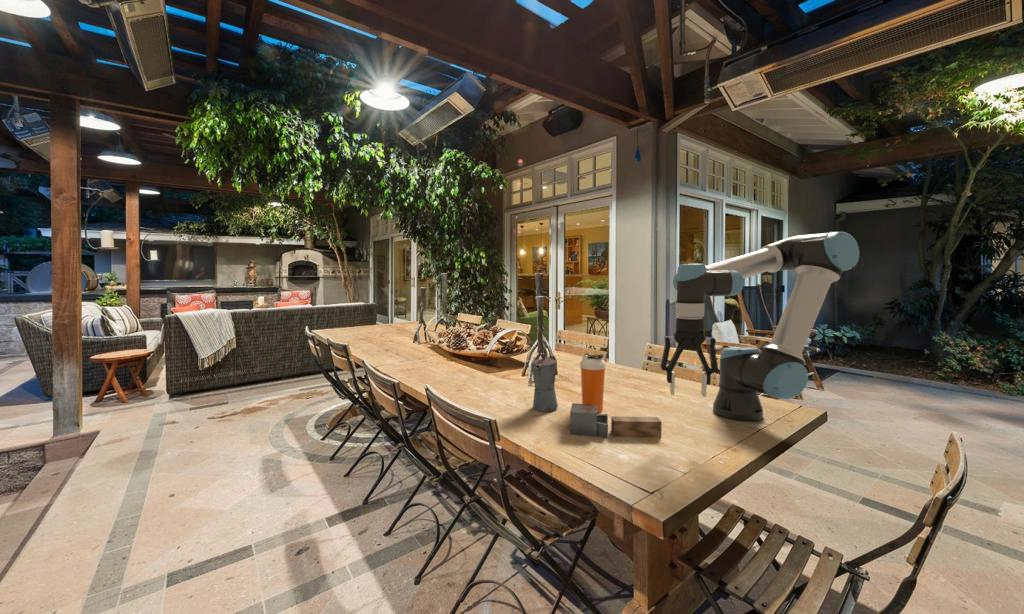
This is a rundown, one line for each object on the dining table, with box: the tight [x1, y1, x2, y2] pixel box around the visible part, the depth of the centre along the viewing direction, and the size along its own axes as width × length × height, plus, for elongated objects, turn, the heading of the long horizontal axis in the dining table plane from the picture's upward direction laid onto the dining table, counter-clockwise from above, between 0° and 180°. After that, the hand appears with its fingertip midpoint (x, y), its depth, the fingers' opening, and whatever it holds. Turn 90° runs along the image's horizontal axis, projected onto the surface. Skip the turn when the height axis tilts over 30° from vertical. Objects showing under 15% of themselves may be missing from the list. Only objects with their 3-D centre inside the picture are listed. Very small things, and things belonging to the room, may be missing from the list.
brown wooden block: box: [610, 415, 663, 439], centre depth 123 cm, size 14×4×5 cm, turn 85°
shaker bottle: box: [579, 353, 607, 414], centre depth 145 cm, size 9×9×20 cm
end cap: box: [569, 402, 609, 438], centre depth 126 cm, size 11×10×7 cm
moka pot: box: [531, 354, 559, 413], centre depth 147 cm, size 10×15×20 cm, turn 158°
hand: (687, 394), depth 119 cm, fingers open, 8 cm apart
